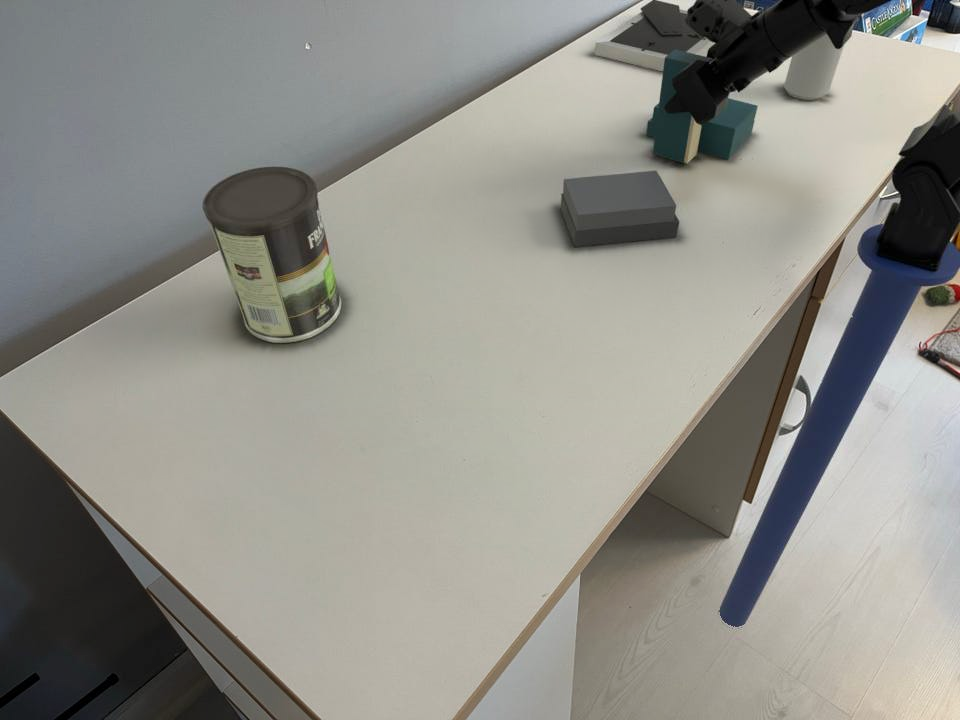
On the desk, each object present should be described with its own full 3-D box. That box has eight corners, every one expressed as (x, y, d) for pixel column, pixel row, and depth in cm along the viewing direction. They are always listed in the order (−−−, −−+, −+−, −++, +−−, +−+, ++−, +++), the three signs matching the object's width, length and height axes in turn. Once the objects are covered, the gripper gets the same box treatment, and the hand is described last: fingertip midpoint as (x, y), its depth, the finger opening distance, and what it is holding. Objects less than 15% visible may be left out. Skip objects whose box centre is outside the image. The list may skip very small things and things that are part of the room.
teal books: (751, 135, 99) (758, 104, 96) (728, 160, 94) (735, 129, 91) (670, 113, 104) (675, 83, 101) (645, 136, 99) (649, 106, 96)
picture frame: (651, 15, 131) (594, 55, 119) (653, -1, 129) (596, 37, 117) (734, 33, 124) (682, 76, 112) (737, 16, 122) (685, 58, 110)
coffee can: (340, 274, 80) (316, 160, 70) (342, 336, 72) (315, 219, 62) (246, 285, 79) (208, 171, 69) (239, 349, 71) (195, 232, 61)
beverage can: (775, 85, 109) (798, 2, 101) (816, 82, 110) (842, -2, 101) (793, 103, 105) (818, 18, 96) (835, 100, 105) (864, 15, 97)
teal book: (696, 155, 94) (713, 58, 85) (687, 164, 93) (703, 67, 84) (661, 145, 97) (675, 49, 87) (652, 154, 95) (664, 57, 86)
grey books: (656, 199, 88) (661, 167, 85) (676, 237, 83) (683, 204, 79) (560, 208, 87) (562, 177, 84) (574, 247, 82) (576, 214, 79)
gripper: (772, -56, 82) (668, 26, 94) (705, -7, 71) (598, 77, 84) (821, 29, 84) (713, 98, 96) (763, 88, 73) (650, 157, 86)
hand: (671, 105), depth 91 cm, fingers closed on teal book, 3 cm apart
